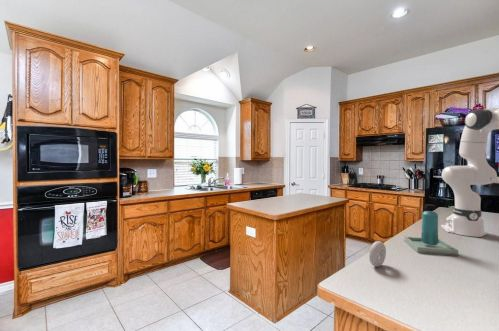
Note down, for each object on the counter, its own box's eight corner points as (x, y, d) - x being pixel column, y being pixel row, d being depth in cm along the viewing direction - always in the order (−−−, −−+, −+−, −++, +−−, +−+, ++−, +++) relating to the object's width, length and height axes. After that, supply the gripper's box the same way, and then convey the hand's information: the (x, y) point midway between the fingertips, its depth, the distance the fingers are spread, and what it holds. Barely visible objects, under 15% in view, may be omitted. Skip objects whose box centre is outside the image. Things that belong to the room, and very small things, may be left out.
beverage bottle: (440, 248, 115) (442, 206, 115) (424, 247, 117) (425, 205, 116) (433, 244, 122) (434, 203, 121) (418, 243, 123) (419, 203, 122)
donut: (376, 271, 94) (376, 245, 94) (367, 268, 97) (367, 242, 97) (387, 264, 101) (387, 239, 101) (378, 261, 104) (378, 237, 103)
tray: (404, 241, 129) (404, 236, 129) (439, 243, 125) (439, 238, 125) (417, 252, 113) (417, 247, 113) (458, 256, 110) (458, 250, 109)
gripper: (534, 172, 105) (488, 171, 114) (546, 175, 89) (493, 173, 98) (533, 187, 105) (488, 185, 114) (545, 192, 90) (492, 189, 99)
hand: (490, 179), depth 106 cm, fingers open, 8 cm apart
